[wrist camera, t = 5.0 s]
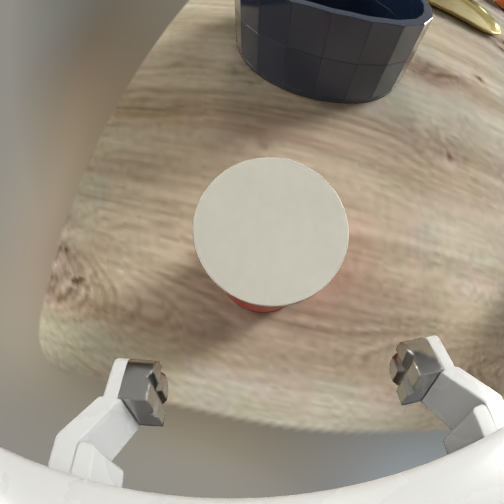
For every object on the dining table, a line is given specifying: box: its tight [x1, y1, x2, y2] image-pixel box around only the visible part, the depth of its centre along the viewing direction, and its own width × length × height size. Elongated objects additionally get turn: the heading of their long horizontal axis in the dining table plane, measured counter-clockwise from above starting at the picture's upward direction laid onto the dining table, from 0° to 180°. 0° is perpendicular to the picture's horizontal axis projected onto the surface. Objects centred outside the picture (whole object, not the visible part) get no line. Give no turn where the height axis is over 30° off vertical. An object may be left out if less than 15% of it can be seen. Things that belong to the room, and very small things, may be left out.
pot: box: [235, 0, 433, 103], centre depth 20 cm, size 17×17×9 cm
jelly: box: [193, 157, 349, 312], centre depth 15 cm, size 6×6×8 cm
